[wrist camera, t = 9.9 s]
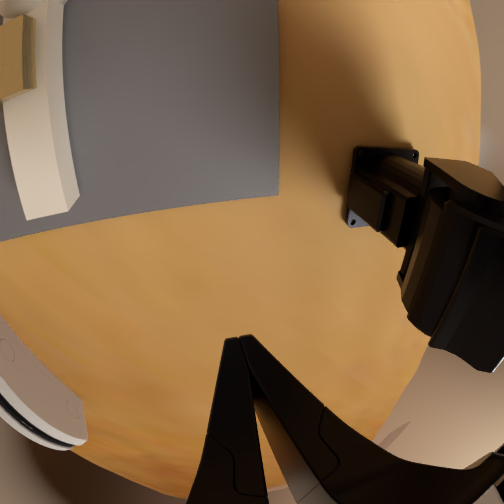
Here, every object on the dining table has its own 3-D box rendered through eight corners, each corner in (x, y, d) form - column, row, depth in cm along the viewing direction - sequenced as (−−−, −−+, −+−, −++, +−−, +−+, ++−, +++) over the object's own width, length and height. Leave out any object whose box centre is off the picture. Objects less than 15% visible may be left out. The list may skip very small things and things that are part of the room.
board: (270, -82, 8) (273, -86, 8) (275, 192, 20) (278, 195, 19) (-22, -16, 4) (-26, -17, 4) (1, 238, 16) (-2, 242, 15)
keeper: (60, 29, 10) (23, 14, 6) (62, 86, 12) (23, 89, 8) (-10, 61, 9) (-56, 63, 5) (-7, 114, 11) (-53, 130, 7)
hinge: (-33, 313, 17) (-52, 384, 10) (-6, 293, 19) (-23, 365, 12) (55, 404, 27) (69, 469, 19) (81, 391, 28) (99, 457, 21)
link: (19, -20, 6) (-12, -36, 2) (80, -45, 7) (59, -71, 3) (33, 206, 15) (5, 237, 11) (89, 193, 15) (69, 224, 12)
